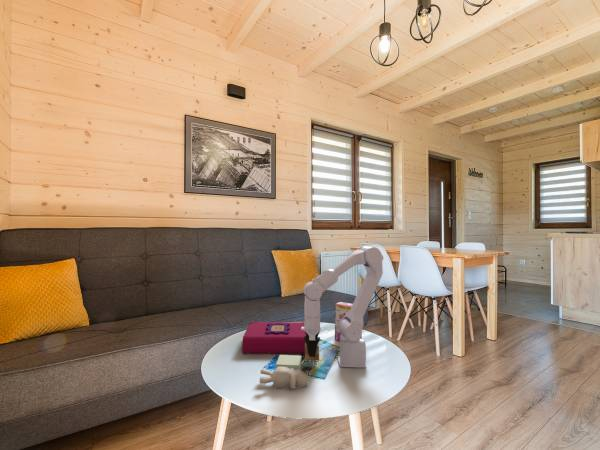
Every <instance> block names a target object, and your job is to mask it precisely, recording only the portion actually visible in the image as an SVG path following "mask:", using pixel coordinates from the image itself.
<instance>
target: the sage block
mask: <svg viewBox="0 0 600 450" xmlns="http://www.w3.org/2000/svg"><path fill="white" fill-rule="evenodd" d="M277 367H287V368H289V369H291V368H293V369H294V370H301V368H302V355H298V354H297V355H296V354H294V355H293V354H279V356H278V358H277V361H276V364H275V369H276V368H277Z"/></svg>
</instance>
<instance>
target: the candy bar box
mask: <svg viewBox="0 0 600 450" xmlns="http://www.w3.org/2000/svg"><path fill="white" fill-rule="evenodd" d="M352 305H353V303H349V302H342V301H339V302H336V303H335V304H334V340H335V341H338V342H340V335H341V332H340V330H339V328H338V324H339V321H340V320H341V319H342V318H343V317H344V316H345V314H346V313H347V312H348V311H350V309H351V307H352ZM362 337H363V336H361V338H360V339H363V338H362Z"/></svg>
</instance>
